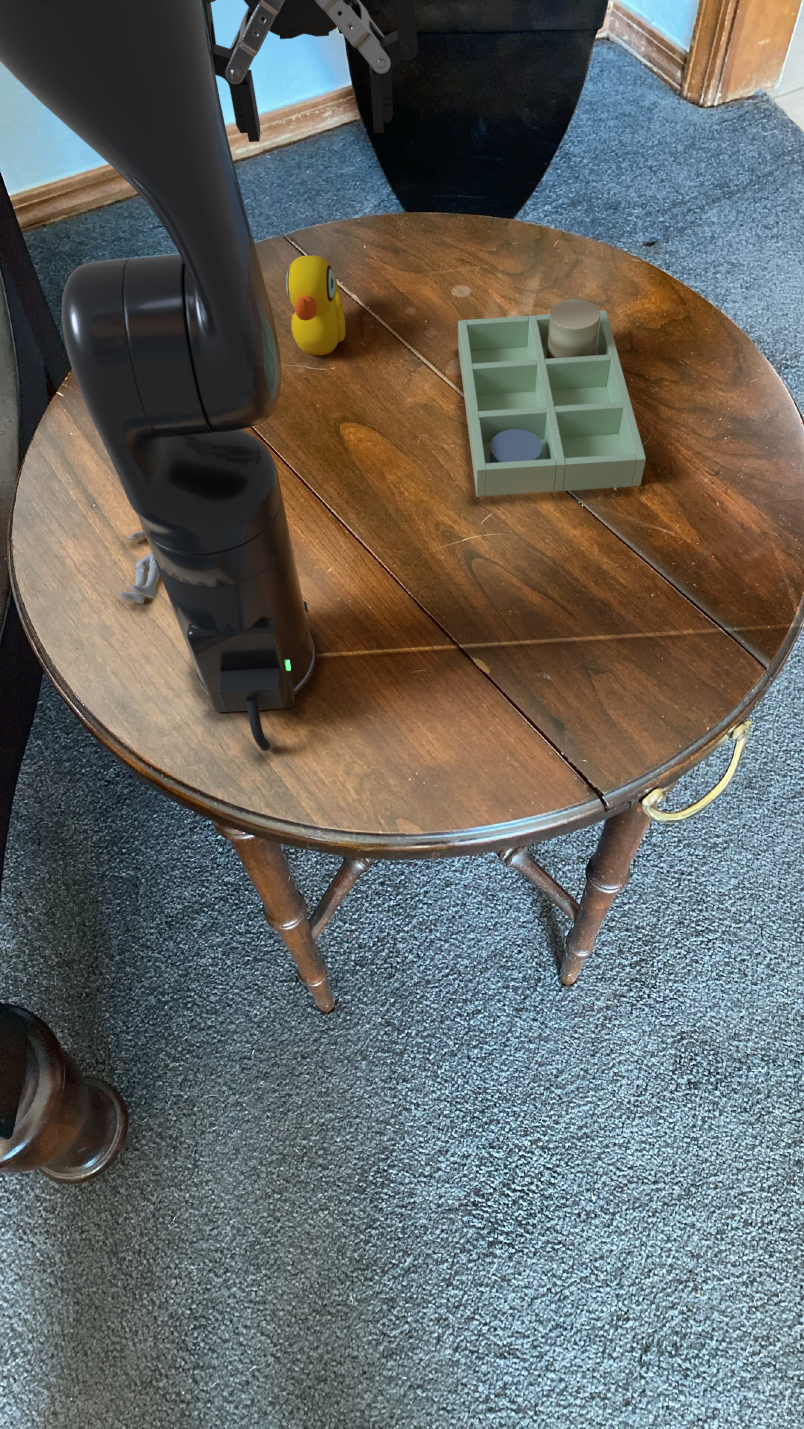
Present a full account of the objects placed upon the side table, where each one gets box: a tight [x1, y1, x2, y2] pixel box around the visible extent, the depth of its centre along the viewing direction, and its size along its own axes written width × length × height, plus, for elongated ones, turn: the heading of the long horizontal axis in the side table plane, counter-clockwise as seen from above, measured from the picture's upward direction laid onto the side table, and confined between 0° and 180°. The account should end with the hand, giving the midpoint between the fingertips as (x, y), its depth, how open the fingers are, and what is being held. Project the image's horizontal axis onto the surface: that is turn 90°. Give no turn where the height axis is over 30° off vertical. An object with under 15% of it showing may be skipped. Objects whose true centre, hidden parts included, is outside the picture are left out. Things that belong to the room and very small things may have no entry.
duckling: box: [285, 254, 346, 356], centre depth 95 cm, size 11×5×10 cm, turn 174°
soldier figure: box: [118, 530, 161, 605], centre depth 82 cm, size 8×5×12 cm
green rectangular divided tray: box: [457, 309, 647, 497], centre depth 90 cm, size 14×21×4 cm
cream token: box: [547, 298, 601, 358], centre depth 91 cm, size 5×5×4 cm
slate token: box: [489, 429, 542, 463], centre depth 86 cm, size 5×5×2 cm
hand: (316, 131), depth 67 cm, fingers open, 8 cm apart
